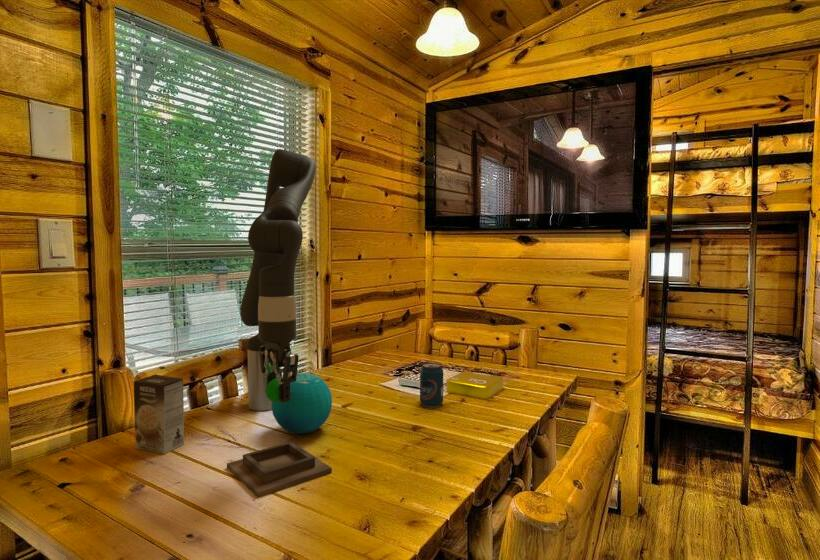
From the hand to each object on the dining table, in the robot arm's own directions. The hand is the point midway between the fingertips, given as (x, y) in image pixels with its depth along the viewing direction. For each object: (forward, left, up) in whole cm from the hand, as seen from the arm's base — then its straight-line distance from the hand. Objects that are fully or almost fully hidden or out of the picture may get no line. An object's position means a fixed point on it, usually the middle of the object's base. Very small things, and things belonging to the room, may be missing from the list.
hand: (278, 397), depth 101 cm
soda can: (-11, +54, -16) cm, 57 cm away
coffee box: (-29, -16, -16) cm, 37 cm away
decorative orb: (-16, +14, -16) cm, 26 cm away
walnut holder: (0, 0, -15) cm, 15 cm away
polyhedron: (0, 0, -1) cm, 1 cm away
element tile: (-13, +75, -16) cm, 78 cm away
